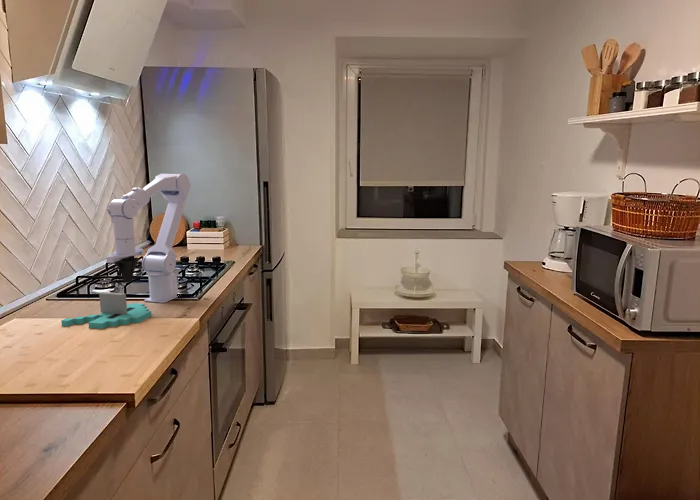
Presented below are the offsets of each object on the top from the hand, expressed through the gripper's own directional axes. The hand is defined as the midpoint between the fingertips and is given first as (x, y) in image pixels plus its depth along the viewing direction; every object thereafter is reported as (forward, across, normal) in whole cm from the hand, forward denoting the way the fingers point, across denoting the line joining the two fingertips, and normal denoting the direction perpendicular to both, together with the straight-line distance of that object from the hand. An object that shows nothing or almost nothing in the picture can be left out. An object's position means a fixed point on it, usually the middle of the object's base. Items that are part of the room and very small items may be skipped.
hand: (127, 281), depth 156 cm
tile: (+8, +7, 0) cm, 11 cm away
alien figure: (+11, +6, 0) cm, 12 cm away
